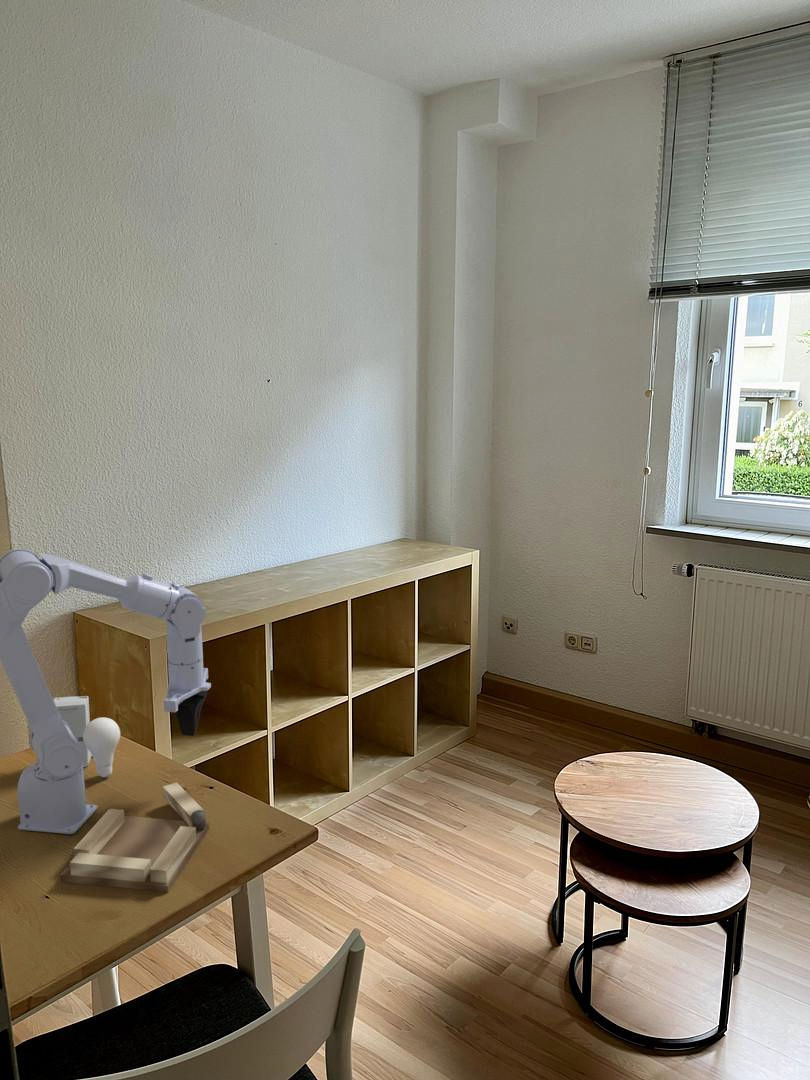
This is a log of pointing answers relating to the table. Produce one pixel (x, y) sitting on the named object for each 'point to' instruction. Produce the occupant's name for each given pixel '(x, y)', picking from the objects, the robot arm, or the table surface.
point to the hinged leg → (185, 805)
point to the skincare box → (76, 718)
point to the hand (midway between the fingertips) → (189, 733)
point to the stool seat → (133, 852)
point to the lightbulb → (102, 743)
